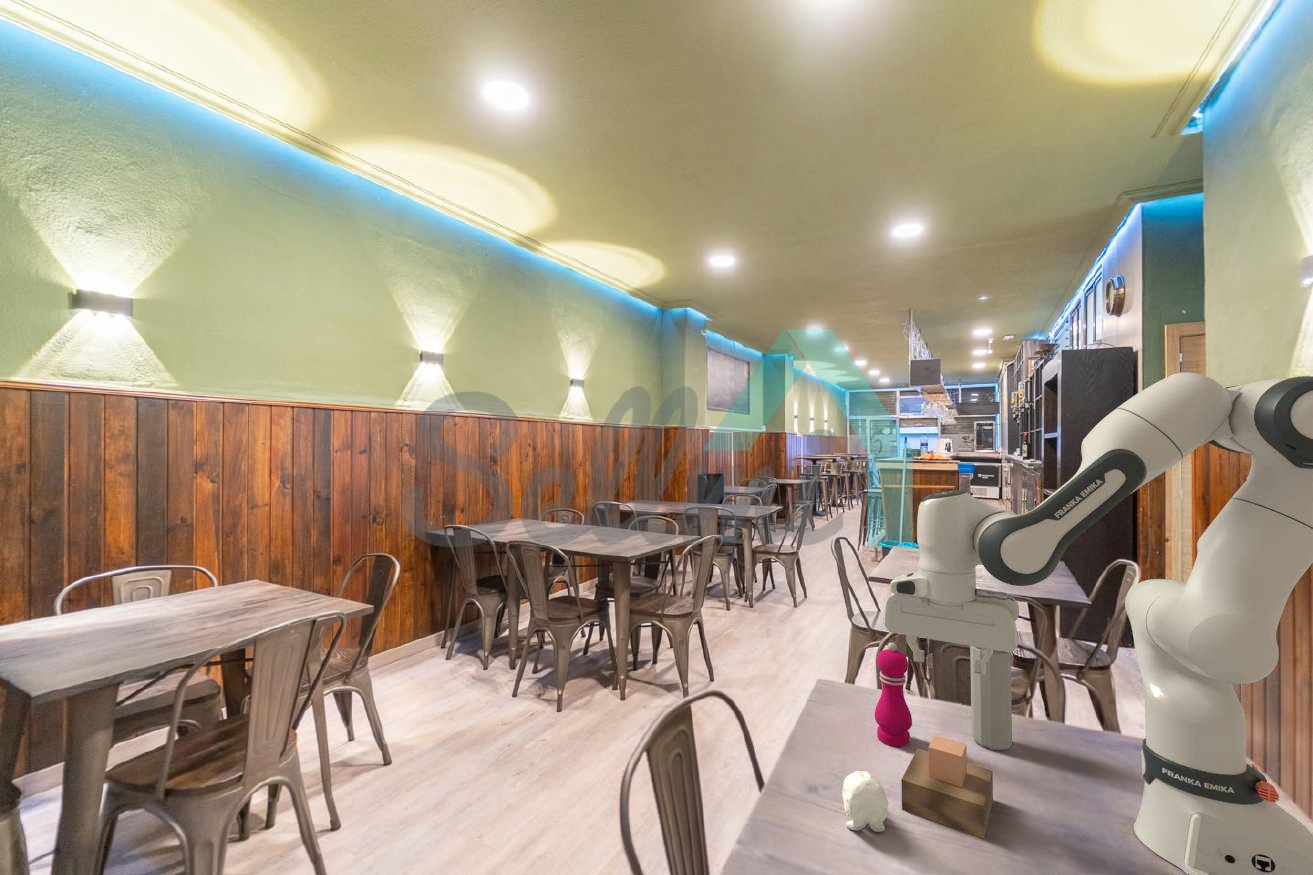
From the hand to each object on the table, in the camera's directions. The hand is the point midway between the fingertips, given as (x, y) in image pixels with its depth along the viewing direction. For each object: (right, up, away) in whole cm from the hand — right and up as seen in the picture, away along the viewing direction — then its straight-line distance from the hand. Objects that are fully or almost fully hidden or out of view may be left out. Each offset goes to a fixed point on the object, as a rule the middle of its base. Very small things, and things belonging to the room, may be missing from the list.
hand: (948, 666), depth 97 cm
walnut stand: (0, -23, -1) cm, 23 cm away
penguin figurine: (-16, -24, -3) cm, 29 cm away
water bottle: (+19, -24, +20) cm, 36 cm away
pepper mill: (-1, -24, +21) cm, 32 cm away
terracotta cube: (0, -18, 0) cm, 18 cm away
